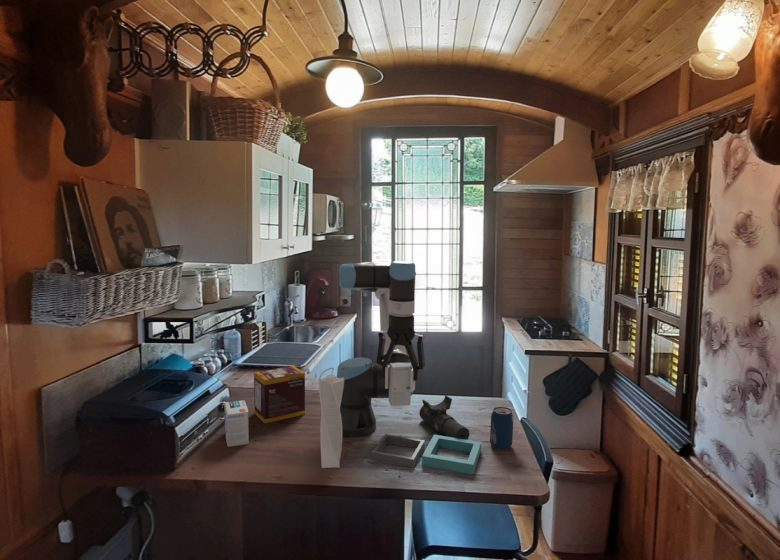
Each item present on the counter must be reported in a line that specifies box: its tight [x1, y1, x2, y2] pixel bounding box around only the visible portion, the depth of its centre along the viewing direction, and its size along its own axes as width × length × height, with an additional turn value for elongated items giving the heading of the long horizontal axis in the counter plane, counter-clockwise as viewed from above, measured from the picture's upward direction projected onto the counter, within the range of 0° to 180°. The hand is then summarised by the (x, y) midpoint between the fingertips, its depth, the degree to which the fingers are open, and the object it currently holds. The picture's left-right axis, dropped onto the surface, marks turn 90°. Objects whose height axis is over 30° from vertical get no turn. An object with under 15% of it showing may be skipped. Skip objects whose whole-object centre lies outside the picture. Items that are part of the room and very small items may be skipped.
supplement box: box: [253, 365, 306, 424], centre depth 186 cm, size 10×15×16 cm
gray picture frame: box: [370, 433, 426, 468], centre depth 159 cm, size 13×13×2 cm
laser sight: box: [418, 394, 470, 440], centre depth 175 cm, size 10×22×10 cm, turn 28°
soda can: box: [489, 406, 514, 451], centre depth 164 cm, size 7×7×12 cm
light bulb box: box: [223, 399, 250, 448], centre depth 166 cm, size 11×7×11 cm, turn 22°
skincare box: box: [388, 363, 412, 407], centre depth 156 cm, size 6×4×12 cm
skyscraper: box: [317, 367, 344, 469], centre depth 151 cm, size 8×8×28 cm
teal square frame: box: [421, 434, 482, 476], centre depth 157 cm, size 15×15×3 cm
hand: (399, 388), depth 156 cm, fingers closed on skincare box, 7 cm apart
